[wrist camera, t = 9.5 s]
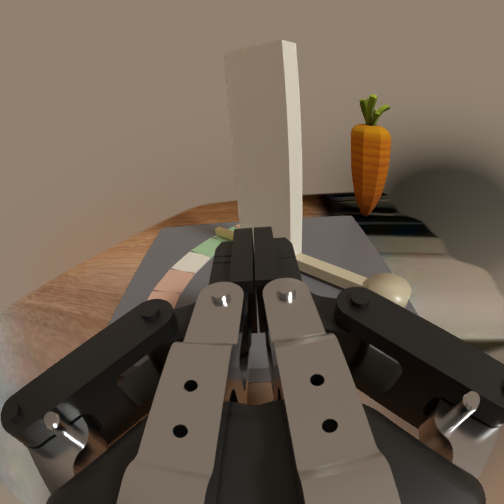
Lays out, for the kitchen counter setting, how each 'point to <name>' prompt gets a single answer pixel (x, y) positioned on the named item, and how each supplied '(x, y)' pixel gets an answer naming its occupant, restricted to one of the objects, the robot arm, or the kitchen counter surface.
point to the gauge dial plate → (206, 241)
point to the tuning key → (279, 158)
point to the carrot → (369, 156)
